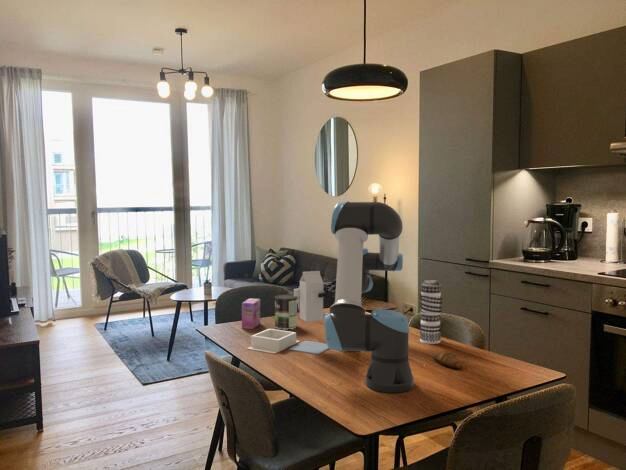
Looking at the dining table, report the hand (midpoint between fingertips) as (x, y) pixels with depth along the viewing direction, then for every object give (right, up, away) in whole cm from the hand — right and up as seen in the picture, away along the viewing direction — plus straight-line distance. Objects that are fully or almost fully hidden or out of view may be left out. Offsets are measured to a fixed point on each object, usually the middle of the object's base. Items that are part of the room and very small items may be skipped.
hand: (302, 294), depth 202 cm
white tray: (-12, -21, +8) cm, 26 cm away
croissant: (+52, -23, -15) cm, 59 cm away
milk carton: (+3, -10, +4) cm, 12 cm away
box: (-24, -19, +39) cm, 50 cm away
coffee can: (-8, -19, +37) cm, 43 cm away
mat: (+3, -22, +5) cm, 22 cm away
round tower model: (+52, -21, +14) cm, 58 cm away
